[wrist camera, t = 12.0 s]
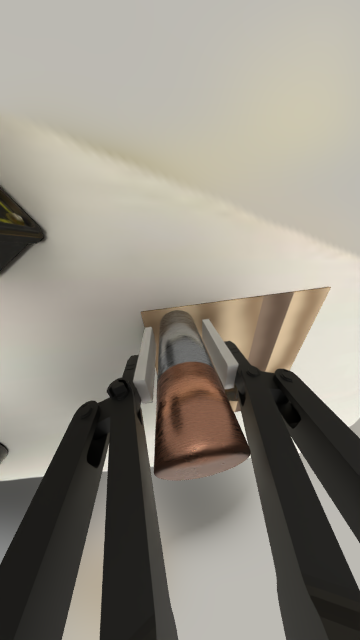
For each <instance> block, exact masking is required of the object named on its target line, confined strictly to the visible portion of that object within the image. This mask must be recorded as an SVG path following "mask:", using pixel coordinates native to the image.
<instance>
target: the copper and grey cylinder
mask: <svg viewBox="0 0 360 640" xmlns="http://www.w3.org/2000/svg"><path fill="white" fill-rule="evenodd" d="M250 454H251V450H250V448H249V446H248V444H247V441H246V439H245V437H244V434H243V432H242V430H241V428H240V425H239V423H238V421H237V418H236V416H235V414H234V412H233V409H232V407H231V405H230V402H229V400H228V398H227V396H226V393H225V391H224V389H223V386H222V384H221V382H220V380H219V377H218V375H217V373H216V370H215V368H214V366H213V364H212V361H211V359H210V357H209V354H208V352H207V350H206V348H205V345H204V343H203V341H202V338H201V336H200V334H199V332H198V329H197V327H196V325H195V322H194V320H193V318H192V316H191V315H190V314H189V313H187V312H185V311H182V310H174V311H171V312H168V313H167V314H165V315H164V316H163V318H162V319H161V321H160V329H159V355H158V380H157V405H156V430H155V456H154V474H155V476H156V477H158V478H161V479H164V480H189V479H196V478H202V477H206V476H210V475H214V474H217V473H220V472H223V471H226V470H228V469H231V468H233V467H235V466H237V465H239V464H240V463H242V462H244V461H245V460H246V459H247V458H248V457H249V456H250Z"/></svg>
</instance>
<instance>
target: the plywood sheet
mask: <svg viewBox="0 0 360 640" xmlns="http://www.w3.org/2000/svg"><path fill="white" fill-rule="evenodd" d="M330 288H331V287H326V288H318V289H311V290H303V291H295V292H288V293H280V294H272V295H265V296H257V297H250V298H242V299H234V300H227V301H219V302H211V303H204V304H196V305H189V306H181V307H173V308H166V309H158V310H150V311H143V312H141V315H142V319H143V323H144V326H145V328H146V327H152V329H153V333H154V338H155V342H156V359H155V367H156V371H157V374H158V355H159V329H160V321H161V319H162V318H163V316H164V315H165V314H167V313H168V312H171V311H174V310H182V311H185V312H187V313H189V314H190V315H191V316H192V318H193V320H194V322H195V325H196V327H197V329H198V332H199V334H200V336H201V338H202V320H204V319H209V320H210V322H211V323H212V325H213V326H214V328H215V329H216V331H217V332H218V334H219V335H220V337H221V338H222V340H223V341H224V342H225V341H231V342H233V343H234V344H235V345H236V346H237V347H238V349H239V350H240V352H241V353H242V354H243V355H244V356H245V358H246V359H247V360H248V362H249V363H250V364H251V365H252V366H255V367H257V368H258V369H259V370H260V371H263V372H271V373H275V371H276V370H277V369H286V370H290V368H291V366H292V364H293V362H294V360H295V358H296V356H297V354H298V352H299V350H300V348H301V346H302V344H303V342H304V340H305V338H306V336H307V334H308V332H309V330H310V328H311V326H312V324H313V322H314V320H315V318H316V316H317V314H318V312H319V310H320V308H321V306H322V304H323V302H324V300H325V298H326V296H327V294H328V292H329V290H330ZM202 341H203V339H202ZM203 343H204V342H203ZM204 345H205V344H204ZM205 348H206V346H205ZM206 350H207V348H206ZM207 352H208V351H207ZM208 354H209V353H208ZM209 357H210V355H209ZM210 359H211V358H210ZM211 361H212V360H211ZM212 364H213V362H212ZM213 366H214V364H213ZM214 368H215V367H214ZM215 370H216V369H215ZM216 373H217V371H216ZM217 375H218V373H217ZM229 402H230V405H231V407H232V409H233V412H237V411H241V408H240V404H239V401H229Z"/></svg>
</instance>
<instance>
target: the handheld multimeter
mask: <svg viewBox="0 0 360 640" xmlns="http://www.w3.org/2000/svg"><path fill="white" fill-rule="evenodd" d="M43 237H44V235H43V234H42V232H41V228H40V227H39V226H38V225H37V224H36V223H35V222H34V221H33V220H32V219H31V218H30V217H29V216H28V215H27V214H26V213H25V212H24V211H23V210H22V209H21V208H20V207H19V206H18V205H17V204H16V203H15V202H14V201H13V200H12V199H11V198H10V197H9V196H8V195H7V194H6V193H5V192H4V191H3V190H2V189H1V188H0V271H1V270H2V269H3V268H4V267H5V266H6V265H7V264H8V263H9V262H10V261H11V260H12V259H13V258H14V257H15V256H16V255H17V254H18V253H19V252H20V251H21V250H22V249H23V248H24V247H25V246H26V245H27V244H28V243H38V242H39V241H40V240H41V239H43Z"/></svg>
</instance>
